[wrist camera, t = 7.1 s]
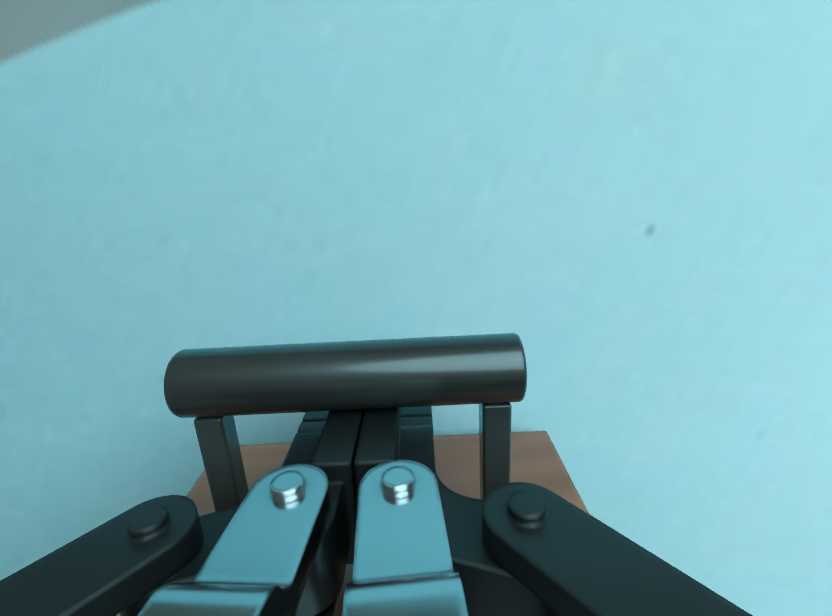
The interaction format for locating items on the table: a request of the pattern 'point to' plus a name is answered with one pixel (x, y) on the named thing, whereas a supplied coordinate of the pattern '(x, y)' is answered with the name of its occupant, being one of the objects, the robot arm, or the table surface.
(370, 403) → the drawer
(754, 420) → the table surface
